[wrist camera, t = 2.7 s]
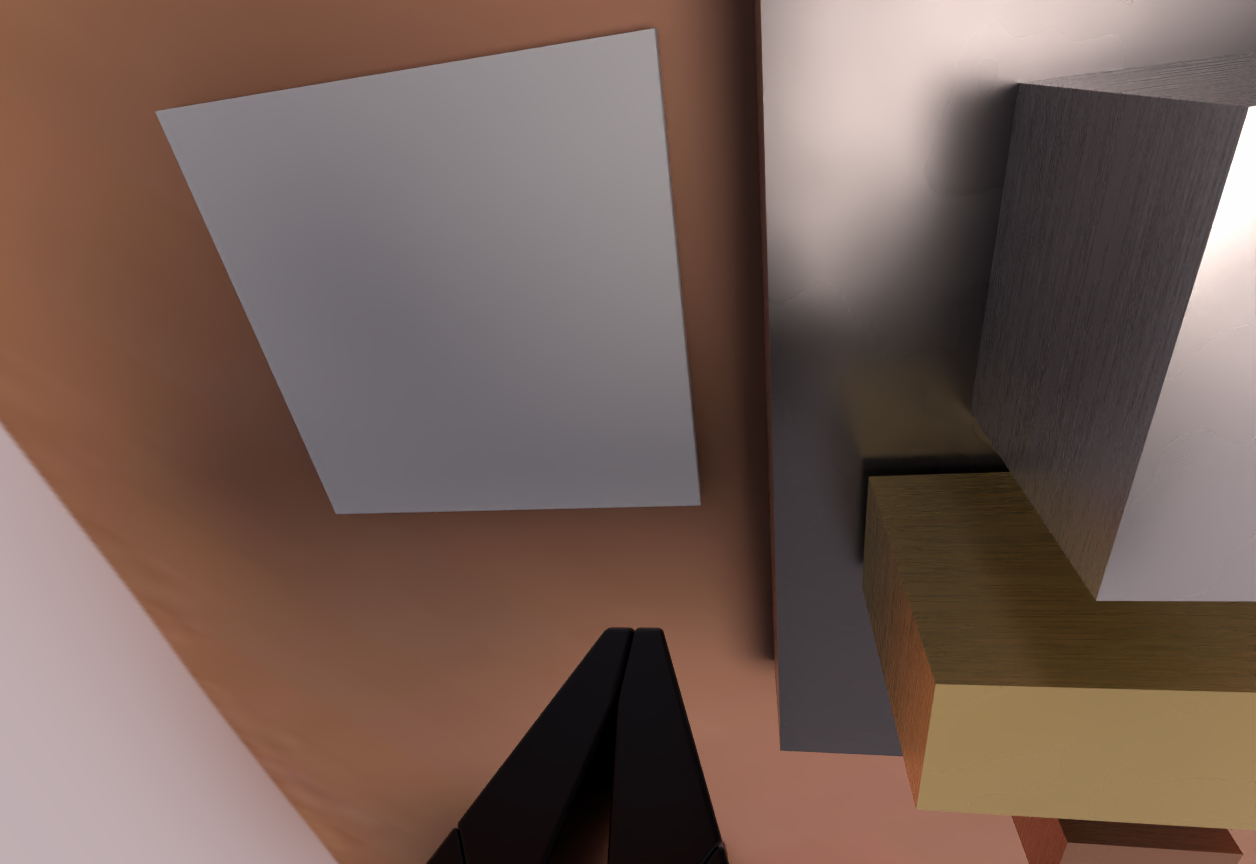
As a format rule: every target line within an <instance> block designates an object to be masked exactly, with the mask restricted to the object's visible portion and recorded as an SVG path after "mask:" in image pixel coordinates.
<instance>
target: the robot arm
mask: <svg viewBox="0 0 1256 864" xmlns="http://www.w3.org/2000/svg"><path fill="white" fill-rule="evenodd" d="M426 864H729V862H728V854H727V851H726V850H725V849H724V848H723V842H722V838H721V834H720V831H719V827H718V824H717V820H716V817H715V813H714V810H713V806H712V802H711V799H710V795H709V792H708V788H707V785H706V781H705V778H704V774H703V770H702V767H701V763H700V760H699V756H698V753H697V749H696V745H695V742H694V738H693V735H692V731H691V728H690V724H689V721H688V717H687V713H686V710H685V706H684V703H683V699H682V696H681V692H680V689H679V685H678V681H677V678H676V674H675V671H674V667H673V664H672V660H671V657H670V653H669V649H668V646H667V642H666V639H665V635H664V632H663V630H662V629H661V628H637V629H636V630H635V631H634V629H632V628H624V627H611V628H608V629H606V630H605V631H604V632H603V634H602V635H601V636H600V638H599V639H598V640H597V641H596V643H595V644H594V645H593V647H592V648H591V649H590V651H589V652H588V653H587V655H586V656H585V657H584V658H583V660H582V661H581V662H580V664H579V665H578V666H577V668H576V669H575V670H574V672H573V673H572V674H571V676H570V677H569V678H568V679H567V681H566V682H565V683H564V685H563V686H562V687H561V689H560V690H559V691H558V693H557V694H556V695H555V696H554V698H553V699H552V700H551V702H550V703H549V704H548V706H547V707H546V708H545V710H544V711H543V712H542V713H541V715H540V716H539V717H538V719H537V720H536V721H535V723H534V724H533V725H532V727H531V728H530V729H529V730H528V732H527V733H526V734H525V736H524V737H523V738H522V740H521V741H520V742H519V744H518V745H517V746H516V748H515V749H514V750H513V751H512V753H511V754H510V755H509V757H508V758H507V759H506V761H505V762H504V763H503V765H502V766H501V767H500V768H499V770H498V771H497V772H496V774H495V775H494V776H493V778H492V779H491V780H490V782H489V783H488V784H487V785H486V787H485V788H484V789H483V791H482V792H481V793H480V795H479V796H478V797H477V799H476V800H475V801H474V802H473V804H472V805H471V806H470V808H469V809H468V810H467V812H466V813H465V814H464V816H463V817H462V818H461V820H460V821H459V822H458V828H454V829H452V831H451V832H450V833H449V835H448V836H447V837H446V839H445V840H444V841H443V843H442V844H441V845H440V847H439V848H438V849H437V851H436V852H435V853H434V854H433V856H432V857H431V858H430V859H429V861H428V862H427V863H426Z"/></svg>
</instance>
